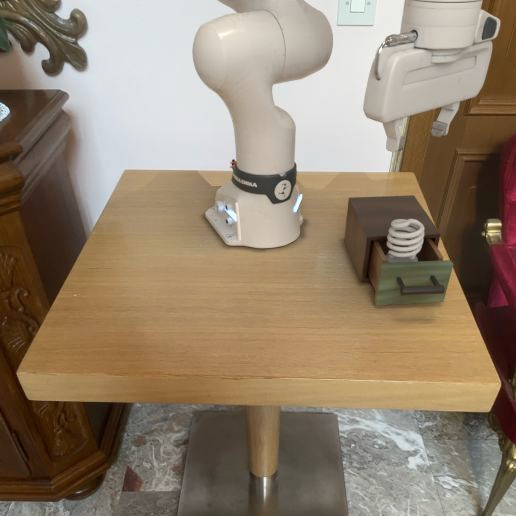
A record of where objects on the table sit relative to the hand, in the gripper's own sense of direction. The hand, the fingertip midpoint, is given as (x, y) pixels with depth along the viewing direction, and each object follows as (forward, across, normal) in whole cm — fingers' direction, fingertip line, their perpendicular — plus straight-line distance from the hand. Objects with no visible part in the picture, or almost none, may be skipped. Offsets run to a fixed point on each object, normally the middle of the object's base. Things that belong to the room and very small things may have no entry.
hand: (417, 142), depth 72 cm
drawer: (+25, +4, +1) cm, 26 cm away
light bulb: (+25, +2, 0) cm, 25 cm away
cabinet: (+26, +10, +10) cm, 30 cm away
